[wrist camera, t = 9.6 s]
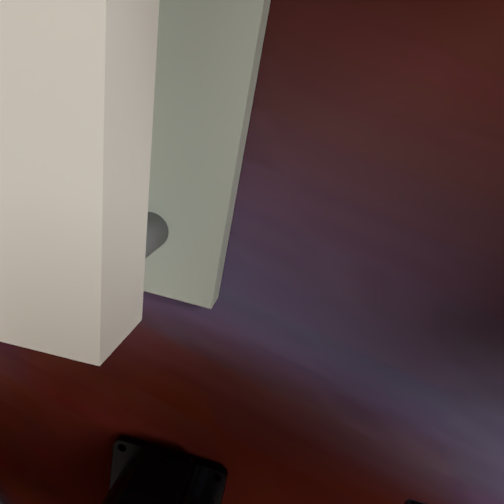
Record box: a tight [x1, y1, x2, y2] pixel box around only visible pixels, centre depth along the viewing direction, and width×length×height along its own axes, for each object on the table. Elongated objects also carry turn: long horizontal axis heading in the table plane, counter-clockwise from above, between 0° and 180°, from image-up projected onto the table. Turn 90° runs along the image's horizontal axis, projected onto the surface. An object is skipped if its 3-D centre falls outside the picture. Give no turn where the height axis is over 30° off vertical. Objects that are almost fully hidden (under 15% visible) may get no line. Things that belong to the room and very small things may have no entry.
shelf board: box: [0, 0, 160, 366], centre depth 13 cm, size 16×6×3 cm, turn 172°
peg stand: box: [143, 0, 271, 309], centre depth 16 cm, size 18×10×5 cm, turn 169°
